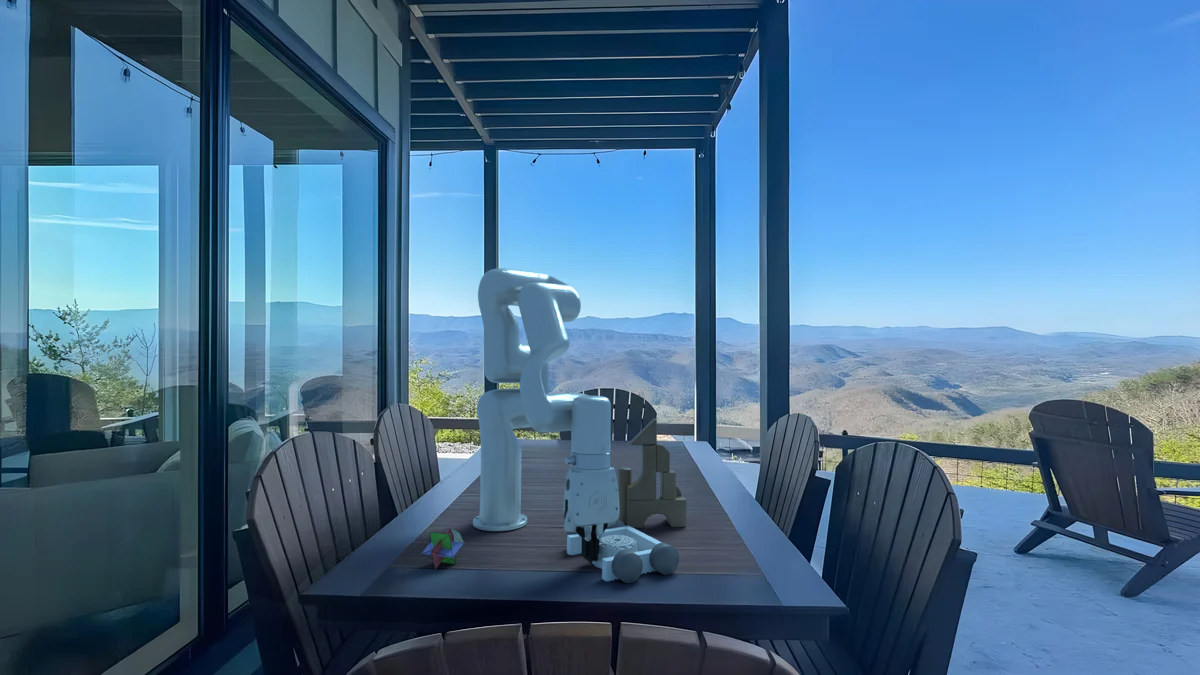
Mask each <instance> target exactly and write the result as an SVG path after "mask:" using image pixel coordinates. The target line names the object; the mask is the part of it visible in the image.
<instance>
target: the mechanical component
mask: <svg viewBox="0 0 1200 675" xmlns="http://www.w3.org/2000/svg"><path fill="white" fill-rule="evenodd" d="M621 550H630V551H631V552H633V553H634V552H639V551H637V541H635V540H634V538H630V537H628V536H623V535H611V536H610V535H608V536H607V537H602V538H601V539H599V554H598V561H593V562H591V563H592V565H593V564H594V565H593V566H594V567H596V568H597V569H601V570H602V559H603V558H608V557H613V556H615V555H616V554H617V553H618V552H619V551H621Z"/></svg>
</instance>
